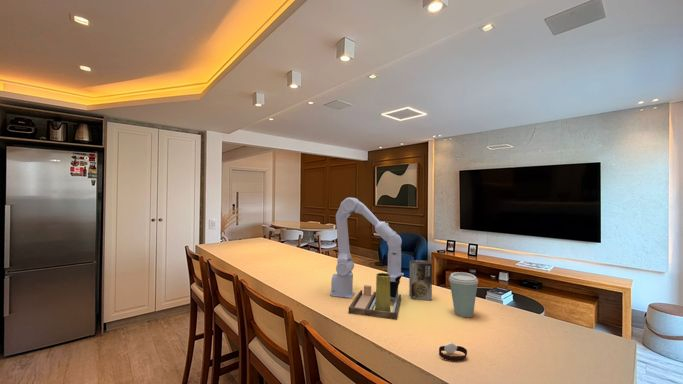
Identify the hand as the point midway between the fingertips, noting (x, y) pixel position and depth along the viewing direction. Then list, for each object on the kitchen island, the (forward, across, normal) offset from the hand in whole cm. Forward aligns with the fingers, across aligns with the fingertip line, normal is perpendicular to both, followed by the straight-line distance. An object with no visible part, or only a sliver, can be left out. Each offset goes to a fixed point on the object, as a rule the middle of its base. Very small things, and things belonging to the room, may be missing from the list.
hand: (393, 294), depth 123 cm
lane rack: (+3, -9, +6) cm, 11 cm away
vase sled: (+3, -9, +3) cm, 10 cm away
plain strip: (+3, -9, +12) cm, 15 cm away
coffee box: (+3, +8, -11) cm, 14 cm away
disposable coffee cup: (+3, -6, -27) cm, 28 cm away
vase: (+3, -14, +3) cm, 15 cm away
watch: (+3, -40, -20) cm, 45 cm away
